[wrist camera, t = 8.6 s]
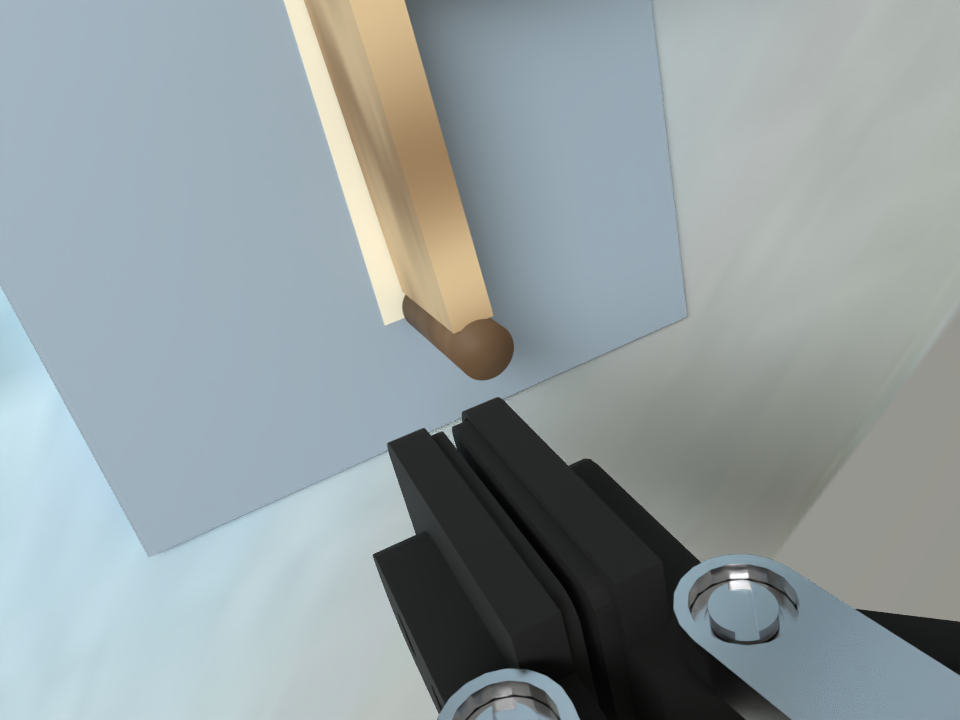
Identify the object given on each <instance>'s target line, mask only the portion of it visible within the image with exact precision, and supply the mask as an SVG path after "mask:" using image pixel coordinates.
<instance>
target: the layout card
mask: <svg viewBox="0 0 960 720" xmlns="http://www.w3.org/2000/svg"><path fill="white" fill-rule="evenodd" d="M405 4H406V7H407V11H408V14H409V18H410V22H411V25H412V29H413V32H414V36H415V39H416V43H417V46H418V50H419V53H420V57H421V60H422V64H423V68H424V71H425V75H426V78H427V82H428V85H429V89H430V92H431V96H432V99H433V103H434V106H435V110H436V114H437V117H438V121H439V124H440V128H441V131H442V135H443V138H444V142H445V145H446V149H447V152H448V156H449V160H450V163H451V167H452V170H453V174H454V177H455V181H456V184H457V188H458V191H459V195H460V199H461V202H462V206H463V209H464V213H465V216H466V220H467V223H468V227H469V230H470V234H471V237H472V241H473V245H474V248H475V252H476V255H477V259H478V262H479V266H480V269H481V273H482V276H483V280H484V283H485V287H486V291H487V294H488V298H489V301H490V305H491V308H492V312H493V315H494V316H492V317H490V318H491V319H493V320H494V321H496V322H497V323H499V324H500V325H501V326H503V327H504V328H506V329H507V330H508V331H509V333H510V334H511V336H512V338H513V342H514V352H513V357H512V359H511V362H510V363H509V365H508V366H507V368H506V369H505V370H504V371H503V372H502V373H501V374H500V375H498V376H496V377H495V378H492V379H489V380H484V381H480V380H475V379H472V378H470V377H469V376H467V375H466V374H465V373H464V372H463V371H462V370H461V369H460V368H458V367H457V366H456V365H455V364H454V363H453V362H452V361H451V360H450V359H448V358H447V357H446V356H445V355H444V354H443V353H442V352H441V351H439V350H438V349H437V348H436V347H435V346H434V345H433V344H432V343H430V342H429V341H428V340H427V339H426V338H425V337H424V336H423V335H422V334H420V333H419V332H418V331H417V330H416V329H415V328H414V327H413V326H411V325H410V324H409V323H408V322H407V321H406V319H405V317H404V315H403V311H402V303H403V299H404V296H405V294H404V293H403V292H402V289H401V286H400V283H399V280H398V277H397V274H396V271H395V268H394V265H393V263H392V260H391V257H390V254H389V251H388V248H387V245H386V242H385V239H384V236H383V233H382V230H381V227H380V224H379V221H378V218H377V215H376V212H375V209H374V206H373V203H372V200H371V198H370V195H369V192H368V189H367V186H366V183H365V180H364V177H363V174H362V171H361V168H360V165H359V162H358V159H357V156H356V153H355V150H354V147H353V144H352V141H351V138H350V135H349V132H348V130H347V127H346V124H345V121H344V118H343V115H342V112H341V109H340V106H339V103H338V100H337V97H336V94H335V91H334V88H333V85H332V82H331V79H330V76H329V73H328V70H327V67H326V64H325V62H324V59H323V56H322V53H321V50H320V47H319V44H318V41H317V38H316V35H315V32H314V29H313V26H312V23H311V20H310V17H309V14H308V11H307V8H306V5H305V2H304V0H0V286H1V288H2V290H3V291H4V293H5V295H6V297H7V299H8V301H9V302H10V304H11V306H12V308H13V310H14V312H15V313H16V315H17V317H18V319H19V321H20V323H21V324H22V326H23V328H24V330H25V332H26V333H27V335H28V337H29V339H30V341H31V343H32V344H33V346H34V348H35V350H36V352H37V354H38V355H39V357H40V359H41V361H42V363H43V365H44V366H45V368H46V370H47V372H48V374H49V376H50V377H51V379H52V381H53V383H54V385H55V387H56V388H57V390H58V392H59V394H60V396H61V398H62V399H63V401H64V403H65V405H66V407H67V409H68V410H69V412H70V414H71V416H72V418H73V420H74V421H75V423H76V425H77V427H78V429H79V430H80V432H81V434H82V436H83V438H84V440H85V441H86V443H87V445H88V447H89V449H90V451H91V452H92V454H93V456H94V458H95V460H96V462H97V463H98V465H99V467H100V469H101V471H102V473H103V474H104V476H105V478H106V480H107V482H108V484H109V485H110V487H111V489H112V491H113V493H114V495H115V496H116V498H117V500H118V502H119V504H120V506H121V507H122V509H123V511H124V513H125V515H126V517H127V518H128V520H129V522H130V524H131V526H132V528H133V529H134V531H135V533H136V535H137V537H138V538H139V540H140V542H141V544H142V546H143V548H144V549H145V551H146V553H147V555H148V557H150V556H153V555H155V554H157V553H159V552H162V551H164V550H166V549H168V548H171V547H173V546H175V545H177V544H180V543H182V542H184V541H186V540H189V539H191V538H193V537H195V536H197V535H200V534H202V533H204V532H206V531H209V530H211V529H213V528H215V527H218V526H220V525H222V524H224V523H227V522H229V521H231V520H233V519H235V518H238V517H240V516H242V515H244V514H247V513H249V512H251V511H253V510H256V509H258V508H260V507H262V506H265V505H267V504H269V503H271V502H273V501H276V500H278V499H280V498H282V497H285V496H287V495H289V494H291V493H294V492H296V491H298V490H300V489H303V488H305V487H307V486H309V485H311V484H314V483H316V482H318V481H320V480H323V479H325V478H327V477H329V476H332V475H334V474H336V473H338V472H341V471H343V470H345V469H347V468H350V467H352V466H354V465H356V464H358V463H361V462H363V461H365V460H367V459H370V458H372V457H374V456H376V455H379V454H381V453H383V452H385V451H388V448H387V443H388V442H390V441H393V440H395V439H398V438H400V437H402V436H405V435H407V434H410V433H412V432H414V431H417V430H419V429H422V428H425V429H426V430H427V431H428V432H430V431H432V430H434V429H437V428H439V427H441V426H443V425H446V424H448V423H450V422H452V421H455V420H457V419H459V418H461V417H462V411H465V410H467V409H469V408H472V407H474V406H477V405H479V404H481V403H484V402H486V401H488V400H491V399H493V398H496V397H500V398H501V399H504V398H506V397H508V396H511V395H513V394H515V393H517V392H519V391H522V390H524V389H526V388H528V387H531V386H533V385H535V384H537V383H540V382H542V381H544V380H546V379H549V378H551V377H553V376H555V375H557V374H560V373H562V372H564V371H566V370H569V369H571V368H573V367H575V366H578V365H580V364H582V363H584V362H587V361H589V360H591V359H593V358H596V357H598V356H600V355H602V354H604V353H607V352H609V351H611V350H613V349H616V348H618V347H620V346H622V345H625V344H627V343H629V342H631V341H634V340H636V339H638V338H640V337H642V336H645V335H647V334H649V333H651V332H654V331H656V330H658V329H660V328H663V327H665V326H667V325H669V324H672V323H674V322H676V321H678V320H680V319H683V318H685V317H687V309H686V300H685V292H684V283H683V274H682V266H681V257H680V248H679V239H678V231H677V222H676V213H675V204H674V196H673V187H672V178H671V169H670V161H669V152H668V143H667V134H666V126H665V117H664V108H663V99H662V91H661V82H660V73H659V64H658V56H657V47H656V38H655V29H654V21H653V12H652V3H651V0H405Z"/></svg>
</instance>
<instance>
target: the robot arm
mask: <svg viewBox="0 0 960 720" xmlns="http://www.w3.org/2000/svg"><path fill="white" fill-rule="evenodd" d="M462 422H463V423H460V424H458V425H456V426H453V427H452V432H453V437H454V440H455V444H456V447H457V449H456V448H455V446H454V445H453V444H452V442H451V441H450V440H449V439H448V437H447V436H446V435H445V434H444V433H443V432H439V433H437V434H434V435H432V436H431V435H430V434H429V432H428V431H427V430H426V429H425V428H422V429H419V430H417V431H414V432H412V433H410V434H407V435H405V436H402V437H400V438H398V439H395V440H393V441H390V442H388V443H387V448H388V452H389V455H390V458H391V461H392V464H393V467H394V470H395V473H396V476H397V479H398V482H399V485H400V488H401V491H402V494H403V497H404V500H405V503H406V506H407V509H408V512H409V515H410V518H411V521H412V524H413V527H414V530H415V533H416V535H415V536H413V537H410V538H408V539H406V540H404V541H402V542H399V543H397V544H395V545H393V546H391V547H388V548H386V549H384V550H382V551H380V552H377V553H375V554H373V558H374V561H375V564H376V567H377V569H378V572H379V575H380V578H381V580H382V583H383V586H384V588H385V591H386V594H387V596H388V599H389V601H390V604H391V607H392V609H393V612H394V614H395V617H396V619H397V621H398V624H399V626H400V629H401V631H402V633H403V636H404V638H405V640H406V643H407V645H408V647H409V650H410V652H411V654H412V656H413V659H414V661H415V663H416V665H417V667H418V669H419V672H420V674H421V676H422V678H423V680H424V682H425V685H426V687H427V689H428V691H429V693H430V696H431V698H432V700H433V702H434V704H435V706H436V709H437V711H438V713H439V715H438V718H437V720H960V622H957V621H949V620H941V619H933V618H925V617H916V616H908V615H900V614H892V613H884V612H876V611H868V610H859V609H854V608H852V607H851V606H849V605H847V604H846V603H844V602H843V601H841V600H839V599H838V598H836V597H835V596H833V595H832V594H830V593H828V592H827V591H825V590H824V589H822V588H821V587H819V586H817V585H816V584H814V583H813V582H811V581H810V580H808V579H806V578H805V577H803V576H802V575H800V574H798V573H797V572H795V571H794V570H792V569H791V568H789V567H787V566H785V565H782V564H780V563H778V562H776V561H774V560H772V559H769V558H764V557H760V556H755V555H751V554H729V555H724V556H720V557H715V558H711V559H708V560H706V561H704V562H702V563H701V562H700V561H699V560H698V559H697V558H696V557H695V556H693V555H692V554H691V553H690V552H689V551H688V550H687V549H686V548H685V547H684V546H683V545H682V544H681V543H680V542H679V541H678V540H677V539H676V538H674V537H673V536H672V535H671V534H670V533H669V532H668V531H667V530H666V529H665V528H664V527H663V526H662V525H661V524H660V523H659V522H658V521H657V520H655V519H654V518H653V517H652V516H651V515H650V514H649V513H648V512H647V511H646V510H645V509H644V508H643V507H642V506H641V505H640V504H639V503H638V502H637V501H635V500H634V499H633V498H632V497H631V496H630V495H629V494H628V493H627V492H626V491H625V490H624V489H623V488H622V487H621V486H620V485H619V484H618V483H616V482H615V481H614V480H613V479H612V478H611V477H610V476H609V475H608V474H607V473H606V472H605V471H604V470H603V469H602V468H601V467H600V466H599V465H597V464H596V463H595V462H593V461H592V460H591V459H583V460H580V461H578V462H576V463H574V464H572V465H569V466H568V465H567V464H566V463H565V462H564V461H563V460H562V459H561V458H560V457H559V456H558V455H557V454H556V453H555V452H554V451H553V450H552V449H551V448H550V447H549V446H548V445H547V444H546V443H545V442H544V441H543V440H542V439H541V438H540V437H539V436H538V435H537V434H536V433H535V432H534V431H533V430H532V429H531V428H530V427H529V426H528V425H527V424H526V423H525V422H524V421H523V420H522V419H521V418H520V417H519V416H518V415H517V414H516V413H515V412H514V411H513V410H512V409H511V408H510V407H509V406H508V404H507V403H506V402H505V401H504V400H503V399H501V398H500V397H496V398H493V399H491V400H488V401H486V402H484V403H481V404H479V405H477V406H474V407H472V408H469V409H467V410H465V411H462Z"/></svg>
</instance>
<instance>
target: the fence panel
mask: <svg viewBox="0 0 960 720" xmlns="http://www.w3.org/2000/svg"><path fill="white" fill-rule="evenodd" d="M304 2H305V5H306V8H307V11H308V14H309V17H310V20H311V23H312V26H313V29H314V32H315V35H316V38H317V41H318V44H319V47H320V50H321V53H322V56H323V59H324V62H325V64H326V67H327V70H328V73H329V76H330V79H331V82H332V85H333V88H334V91H335V94H336V97H337V100H338V103H339V106H340V109H341V112H342V115H343V118H344V121H345V124H346V127H347V130H348V132H349V135H350V138H351V141H352V144H353V147H354V150H355V153H356V156H357V159H358V162H359V165H360V168H361V171H362V174H363V177H364V180H365V183H366V186H367V189H368V192H369V195H370V198H371V200H372V203H373V206H374V209H375V212H376V215H377V218H378V221H379V224H380V227H381V230H382V233H383V236H384V239H385V242H386V245H387V248H388V251H389V254H390V257H391V260H392V263H393V265H394V268H395V271H396V274H397V277H398V280H399V283H400V286H401V289H402V292H403V293H404V294H405V296H404V299H403V303H402V311H403V315H404V317H405V319H406V321H407V322H408V323H409V324H410V325H411V326H413V327H414V328H415V329H416V330H417V331H418V332H419V333H420V334H422V335H423V336H424V337H425V338H426V339H427V340H428V341H429V342H430V343H432V344H433V345H434V346H435V347H436V348H437V349H438V350H439V351H441V352H442V353H443V354H444V355H445V356H446V357H447V358H448V359H450V360H451V361H452V362H453V363H454V364H455V365H456V366H457V367H458V368H460V369H461V370H462V371H463V372H464V373H465V374H466V375H467V376H469V377H470V378H472V379H475V380H480V381H484V380H489V379H492V378H495V377H496V376H498V375H500V374H501V373H502V372H503V371H504V370H505V369H506V368H507V366H508V365H509V363H510V362H511V359H512V357H513V352H514V342H513V338H512V336H511V334H510V333H509V331H508V330H507V329H506V328H504V327H503V326H501V325H500V324H499V323H497V322H496V321H494V320H493V319H491V318H490V317H492V316H494V315H493V312H492V308H491V305H490V301H489V298H488V294H487V291H486V287H485V283H484V280H483V276H482V273H481V269H480V266H479V262H478V259H477V255H476V252H475V248H474V245H473V241H472V237H471V234H470V230H469V227H468V223H467V220H466V216H465V213H464V209H463V206H462V202H461V199H460V195H459V191H458V188H457V184H456V181H455V177H454V174H453V170H452V167H451V163H450V160H449V156H448V152H447V149H446V145H445V142H444V138H443V135H442V131H441V128H440V124H439V121H438V117H437V114H436V110H435V106H434V103H433V99H432V96H431V92H430V89H429V85H428V82H427V78H426V75H425V71H424V68H423V64H422V60H421V57H420V53H419V50H418V46H417V43H416V39H415V36H414V32H413V29H412V25H411V22H410V18H409V14H408V11H407V7H406V4H405V0H304Z"/></svg>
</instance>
